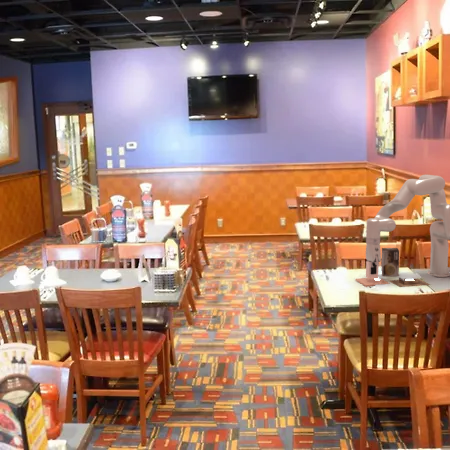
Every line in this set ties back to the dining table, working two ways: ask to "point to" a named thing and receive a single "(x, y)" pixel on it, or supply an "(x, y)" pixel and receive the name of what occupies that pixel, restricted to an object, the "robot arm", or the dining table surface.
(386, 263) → the coffee box
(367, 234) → the robot arm
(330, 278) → the dining table surface
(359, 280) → the reddish pink flat square
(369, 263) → the pink rounded block
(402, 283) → the brown rectangular board
